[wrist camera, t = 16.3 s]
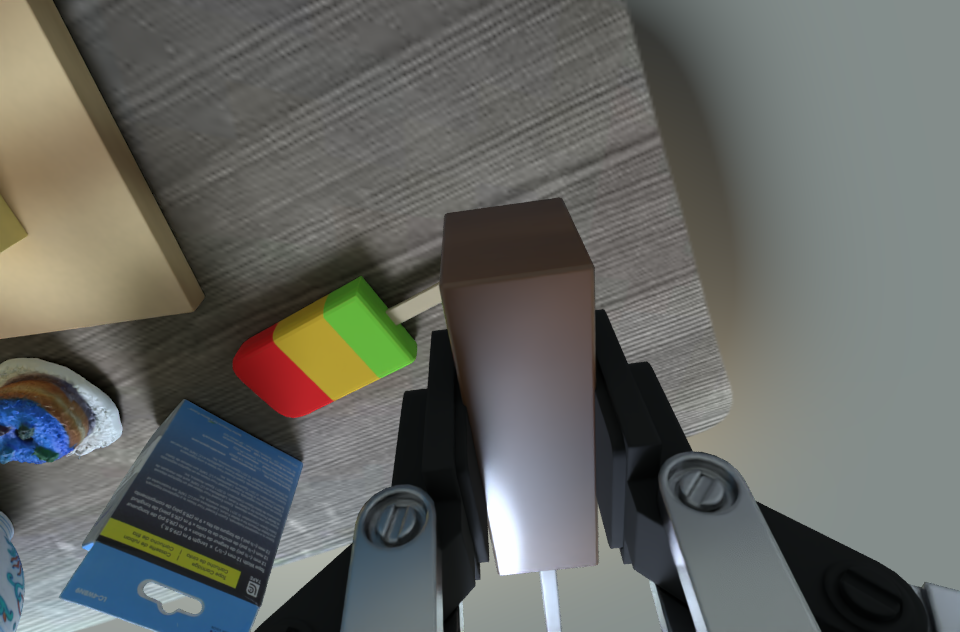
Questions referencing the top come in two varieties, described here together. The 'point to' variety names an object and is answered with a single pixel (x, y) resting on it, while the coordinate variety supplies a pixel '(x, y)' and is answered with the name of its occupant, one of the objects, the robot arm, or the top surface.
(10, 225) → the butter block
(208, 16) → the top surface
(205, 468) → the label tape box
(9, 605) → the chinaware
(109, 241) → the cutting board
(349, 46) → the top surface
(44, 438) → the dessert
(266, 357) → the popsicle
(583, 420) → the knife
